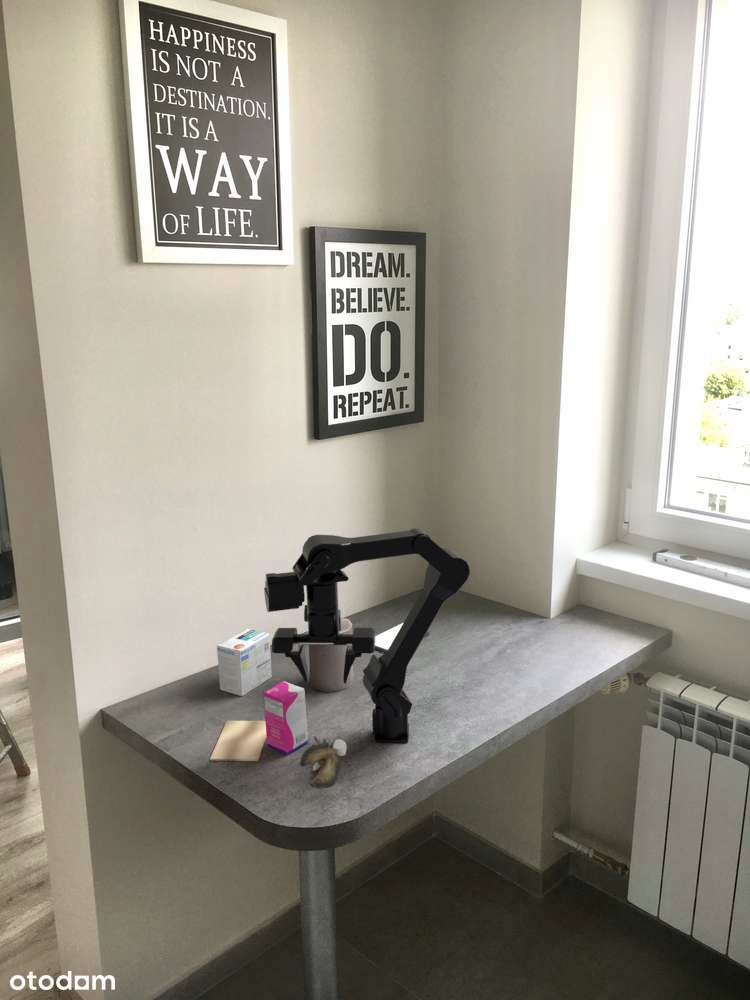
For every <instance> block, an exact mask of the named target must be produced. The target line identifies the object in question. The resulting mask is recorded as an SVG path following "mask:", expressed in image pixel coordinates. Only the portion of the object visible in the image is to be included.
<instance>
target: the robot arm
mask: <svg viewBox="0 0 750 1000" xmlns="http://www.w3.org/2000/svg"><path fill="white" fill-rule="evenodd" d="M415 554H416V555H419V556H420V557H421V558H422V559H424V560H425V561H426V562H427V563H428V565H427V568H426V571H425V577H424V581H423V587H422V589H421V591H420V593H419V595H418V598H417V599H416V600H415V602H414V604H413V606H412V607H411V609H410V611H409V612H408V615H407V616H406V618H405V619H404V622H402V623H403V625H402V626H401V628H400V630H399V632H398V633H397V635H396V637H395V639H394V640H393V642H392V644H391V646H390V647H389V649H388V651H387V652H386V653H383V654H382V655H380V656H377V655H375V654H372V653H374V652H375V650H374V648H375V636H376V631H375V629H374V628H373V627H354V628H353V631H352V634H339V631H341V618H342V617H341V609H339V590H338V589H339V587H338V584H339V583H340V582H341V583H342V582H343V583H344V582H348V581H349V577H348V575H347V574H346V572H345V571H344V569H345V568H347V567H349V566H350V565H352V564H355V563H358V562H359V563H360V562H366V561H372V560H379V559H386V558H393V557H402V556H409V555H415ZM291 569H292V571H289V572H288V571H287V572H281V573H277V572H276V573H275V572H274V573H272V572H270V573H269V572H268V573H266V574H265V580H264V581H265V582H264V586H265V587H264V588H263V593H264V602H265V606H266V607H265V608H266V611H267V613H271V612H279V611H288V610H296V609H299V608H300V607H303V603H305V598H306V604H305V605H304V609H303V610H304V612H303V621H304V622H307V630H308V634H302V633H301V634H300V633H299V634H298V629H297V627H278V628H277V629H276V630H275V632H274V634H273V637H272V638H271V651H272V652H271V653H274V654H284V657H285V658H289V659H291V661H292V663H293V664H294V665H295V667H296V668H297V669H298V672H299V673H300V675H301V677H302V679H303V681H304V683H305V684H308V683H309V669H308V663H307V657H306V656H307V655H306V646H309V645H347V650H346V654H345V665H344V676H343V680H344V683H346V682H347V678H348V675H349V672H350V669H351V666H352V664H353V665H354V663H355V660H356V658H361V657H362V655H363V654H372V656H371V657H370V660H369V662H368V664H367V665H366V667H365V668H364V669H362V673H363V677H362V683H363V686H364V689H365V691H366V692H367V695H368V696H369V698H370V699H371V701H372V703H373V704H374V705H375V707H374V708H373V709H372V714H371V717H372V721H371V723H372V735H374V741H375V742H376V743H409V741H410V740H409V737H410V735H409V734H410V733H409V732H410V725H409V724H410V723H409V714H410V712H411V710H412V706H413V703H412V700H410V698H409V696H408V695H407V694H406V692H405V690H404V686H405V682H406V676H407V670H408V665H409V663H410V662H411V660H412V659H413V657H414V655H415V654H416V652H417V650H418V648H419V646H420V645H421V643H422V641H423V640H424V636H425V634H426V633H427V631H428V629H429V630H430V628H431V626H432V624H433V623H434V620H435V619H436V617H437V615H438V613H439V612H440V610H441V608H442V607H443V605H444V604H445V602H447V601H448V600H449V599H450V598H452V597H454V596H455V595H456V594H458V592H459V591H460V590H461V589H462V588H463V586H464V585H465V584H466V583H467V581H468V580H469V578H470V575H471V569H470V566H469V564H468V561H466V560H465V559H464V558H463V557H461V556H460V555H459V554H458V553H457V552H455V551H454V550H453V549H450V548H442V547H441V546H439V544H437V543H436V542H435V541H433V540H432V539H431V536H429V534H427V533H426V532H425V531H424V530H422V529H420V528H416V527H415V528H412V529H410V530H402V531H401V530H400V531H395V532H394V531H393V532H386V533H378V534H372V535H364V536H357V537H346V536H339V535H334V534H333V535H332V534H314V535H311V536H309V537H308V538H307V540H306V541H305V542H304V544H303V545H302V553H301V554H300V556H299V558H297V560H296V562H295V563H294V564H293V566H292V568H291ZM305 588H306V590H305ZM305 591H306V595H305Z"/></svg>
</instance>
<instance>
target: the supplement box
mask: <svg viewBox="0 0 750 1000" xmlns="http://www.w3.org/2000/svg"><path fill="white" fill-rule="evenodd" d="M262 696H263V707H264V711H263V712H264V721H265V722H266V735H267V737H266V745H267V746H268V747H270V748H272V749H275V750H276V751H278V752H280V753H282V754H285V755H287V756H289V755H290V754H292V753H293V752H295V751H297V750H298V749H300V748H301V747H303V746H305V745H306V744H308V743H309V737H308V735H309V734H308V723H307V710H306V709H307V708H306V707H307V706H306V693H305V688H304V687H301V686H298V685H295V684H293V683H289V682H287V681H282V682H279V683H278V684H276V685H275V686H272V687H271V688H268V689H267V690H265V691H263V694H262Z"/></svg>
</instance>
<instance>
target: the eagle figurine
mask: <svg viewBox="0 0 750 1000" xmlns="http://www.w3.org/2000/svg"><path fill="white" fill-rule="evenodd" d="M313 739H314V741H315V742H316V744H314V743H313V744H312V745H310V746H309V747H307V749H306V750H305V751H303V754H302V755H301V757H300V760H299V762H298V764H299V766H300V767H301V768H303V767H307V766H311V765H313V767H312V770H311V771H312V772H315V771H317V770H318V769H319V771H318V772H317V774H316V776H315V777H314V778H313V779H312V781H311V783H310V784H311V785H312V787H314V788H315V789H317V790H321V789H325V788H326V787H327V788H329V787H330V786H333V785H334V783H336V782H337V779H338V776H339V773H340V770H341V769H342V763H341V761H340V759H339V758H338V757H344V756H346V754H347V749H348V747H347V743H346V742H345V741H344V740H343V739H339V738H337V739H335V740H334V741H333V743H331V744H330V743H328V742H327V739H326V738H323V741H322V742H321V741H320V740H319V739H318V738H317V736H315V735H314V736H313Z"/></svg>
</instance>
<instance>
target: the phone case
mask: <svg viewBox="0 0 750 1000" xmlns="http://www.w3.org/2000/svg"><path fill="white" fill-rule="evenodd" d="M403 623H404V622H401V623H399V624H397V625H395V626H393V627H391V628H389V629H387V630H385V631H383V632H381V633H378V634H377V635H375V648H374V651H377V652H380V653H383V654H385V653H386V652H387V651H388V649H389V647H390V646H391V644H392V642H393V640H394V639H395V637H396V635H397V633H398V632H399V630H400V628H401V626H402V625H403ZM430 634H431V633H430V628H429V629H428V631H427V633H426V634H425V636H424V638H427V637H428V636H430ZM424 638H423V639H424Z"/></svg>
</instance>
